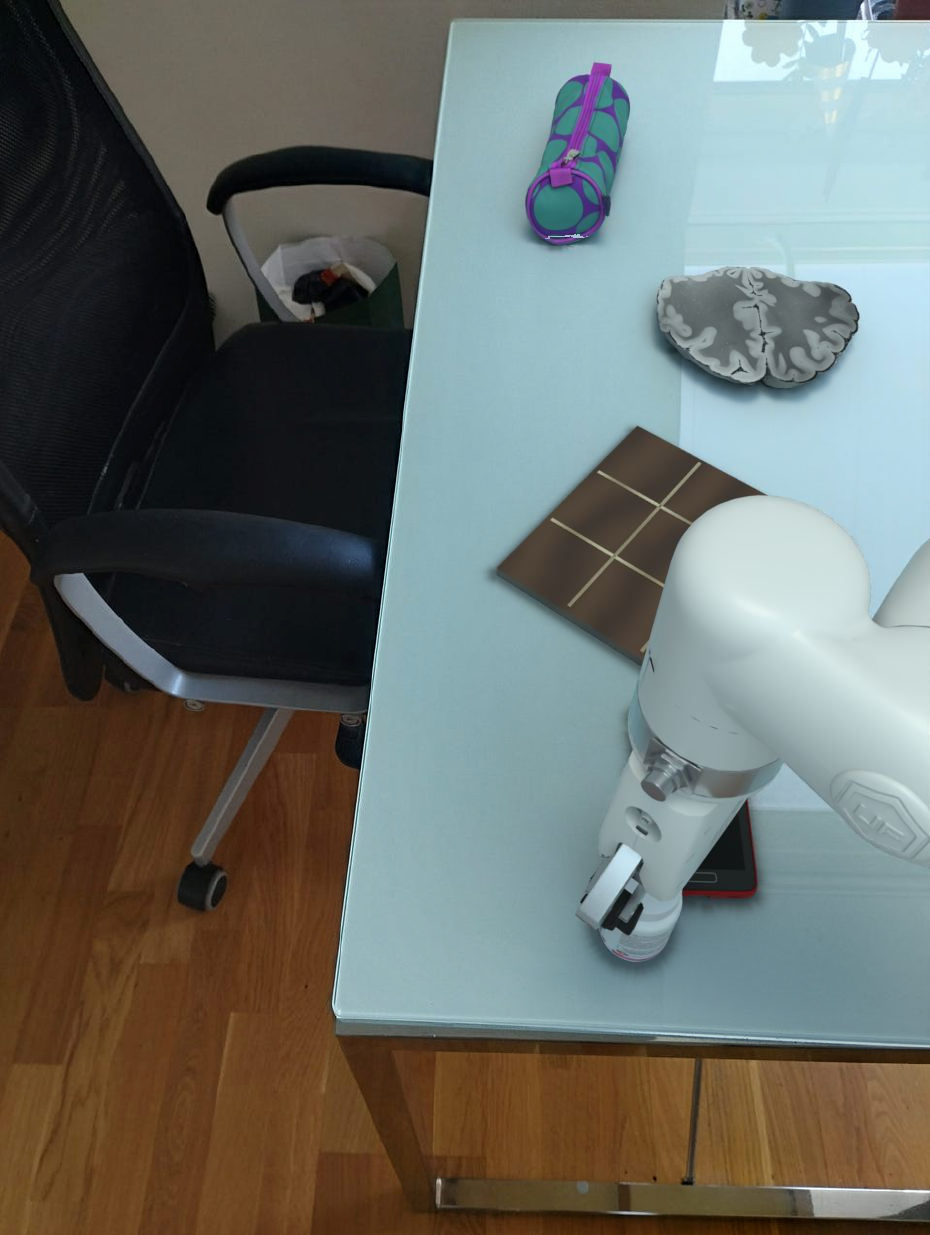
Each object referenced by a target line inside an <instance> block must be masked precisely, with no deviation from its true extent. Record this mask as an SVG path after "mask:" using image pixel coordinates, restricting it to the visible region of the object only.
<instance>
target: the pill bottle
mask: <svg viewBox="0 0 930 1235" xmlns="http://www.w3.org/2000/svg"><path fill="white" fill-rule="evenodd" d="M643 862H644V861H643ZM638 884H639V883H638V882H637V881H635V880H634V879H633V878H631V879H630V881H629V882H628V884H627V885H626V887H625V889H626V890H627V891H629V892H630V893H631V894H632V893H633V892H634V890H635V889H636V887H637V885H638ZM641 902H642V904H643V907H644V909H643V911H642V913H641V916H640V918H639V920H638V922H637V924H636V927H635V929H634V930H633V931H632V933H631V934H630V935H626V934H624V933H623V932H621V931H620V930H619V929H618V928H616V927H615V929H614V930H613V931H610V930H608V929H604V928H603V927H601V926H600V928H598V931H599V935H600V937H601V940H602V942H603V943H604V945H605V947H606V948H607V949H608V950H609V951H610V952H611V953H612V954H613V955H615V956H616V957H618V958H619V959H621V960H624V961H628V962H632V963H639V962H640V963H641V962H645V961H648V960H651V959H653V958H655V957H656V956H658V955H659V954H660V953H661V952H662V951H663V950H664V949H665V947H666V945H667V944H668V941H669V939H670V937H671V934H672V933H673V930H674V928H675V926H676V924H677V922H678V920H679V918H680V915H681V912H682V909H683V897H682V890H681V891H680V892H679V894H678V895H677V896H676V897H675V898H674V899H672V900H669V901H665V902H661V901H659V900H657V899H656V898H654V897H652V896H651V895H649V894H648V893H646V895H645V896H644V898H643V900H642V901H641Z"/></svg>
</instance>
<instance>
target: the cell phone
mask: <svg viewBox="0 0 930 1235" xmlns="http://www.w3.org/2000/svg"><path fill="white" fill-rule="evenodd" d="M755 854H756V853H755V846H754V838H753V831H752V823H751V815H750V807H749V797H748V798H747V799H746V801H745V802H744V803H743V805H742V806H741V808H740V809H739V811H738V812H737V814H736V815H735V816H734V818H733V819H732V821H731V822H730V824H729V825H728V826H727V828H726V829H725V831H724V832H723V834H722V835H721V836H720V838H719V839H718V841H717V842H716V843H715V845H714V846H713V848H712V849H711V850H710V852H709V853H708V855H707V856H706V857H705V859H704V860H703V861H702V863H701V864H700V866H699V867H698V868H697V870H696V871H695V873H694V874H693V875H692V877H691V878H690V879H689V881H688V882H687V883H686V885H685V886H684V887H683V889H682V898H691V896H707V898H708V899H734V900H735V899H749V898H752V897H754V896H755V895H756V893H757V890H758V886H759V885H758V883H759V882H758V869H757V863H756V855H755Z"/></svg>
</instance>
